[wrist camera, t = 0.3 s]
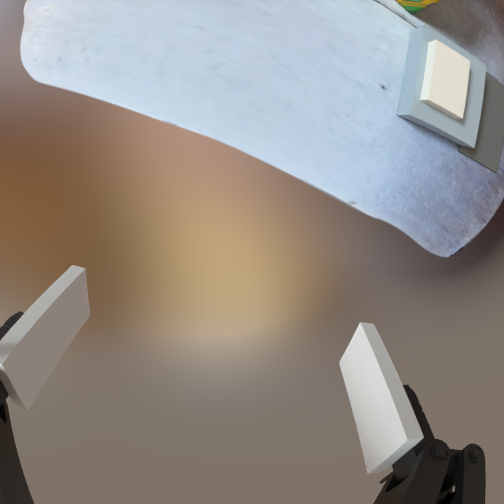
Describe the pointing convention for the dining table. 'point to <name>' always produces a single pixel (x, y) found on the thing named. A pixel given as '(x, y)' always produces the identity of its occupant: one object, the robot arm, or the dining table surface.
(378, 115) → the dining table surface
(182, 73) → the dining table surface
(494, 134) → the mat
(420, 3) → the chalk box
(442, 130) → the grey flat block
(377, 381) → the robot arm
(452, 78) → the thick cream block
